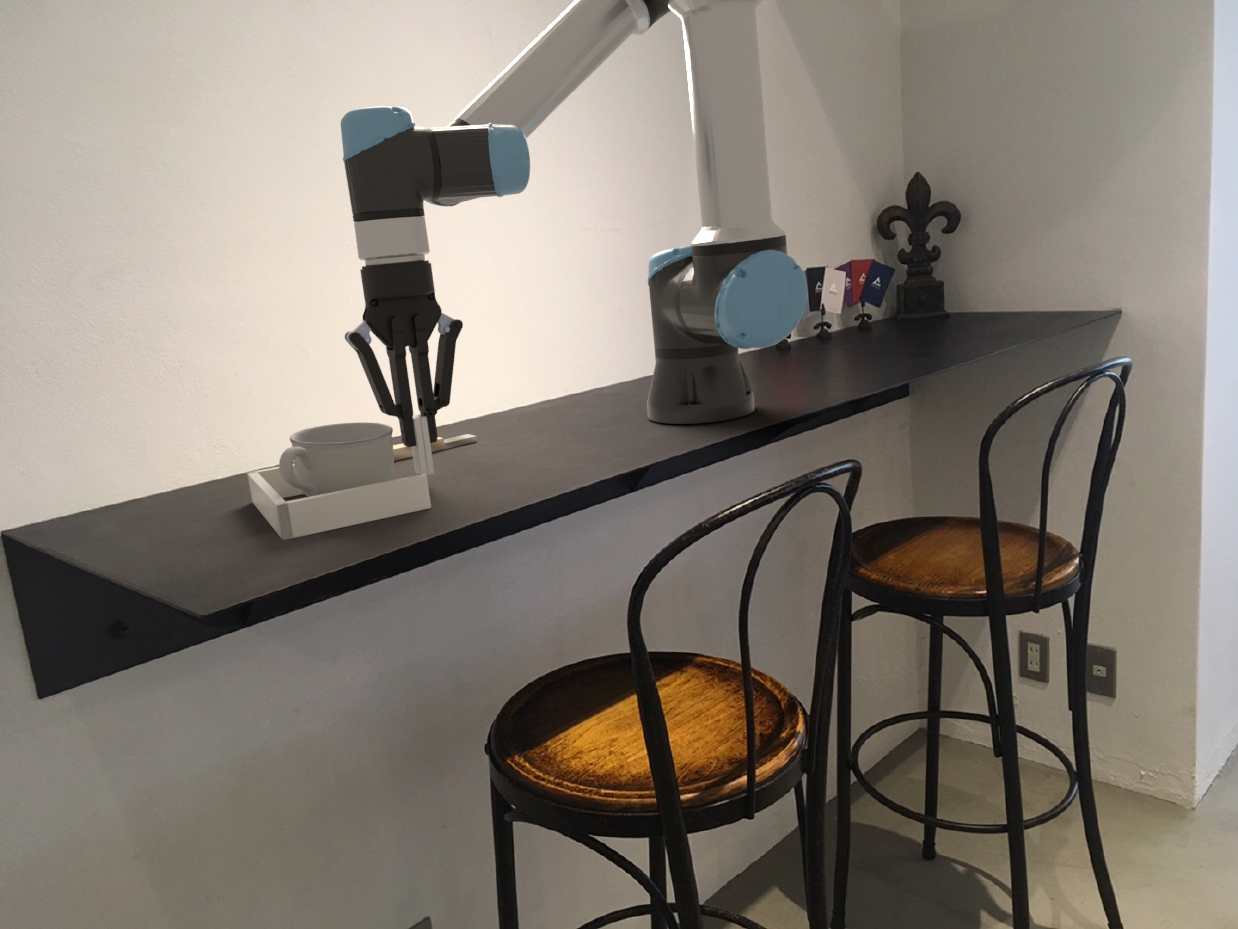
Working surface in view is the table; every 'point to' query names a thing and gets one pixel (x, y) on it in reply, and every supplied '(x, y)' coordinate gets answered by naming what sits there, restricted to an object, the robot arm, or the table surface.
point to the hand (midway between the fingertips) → (424, 472)
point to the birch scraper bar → (434, 445)
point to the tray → (333, 503)
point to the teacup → (338, 457)
